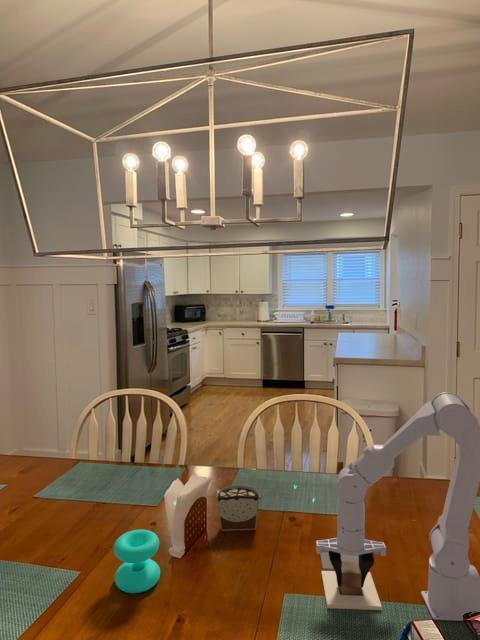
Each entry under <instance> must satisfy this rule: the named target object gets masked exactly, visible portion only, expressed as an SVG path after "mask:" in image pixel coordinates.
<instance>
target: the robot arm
mask: <svg viewBox="0 0 480 640" xmlns="http://www.w3.org/2000/svg"><path fill="white" fill-rule="evenodd" d="M440 430H441V431H442V432H443V433H444V434H445V435H447V436H448V437H451V438H452V439H453V440H454V441H455V442H456V444H457V445H458V446H457V451H456V454H455V459H454V463H453V467H452V472H451V476H450V480H449V484H448V485H449V486H448V489H447V493H446V498H445V502H444V506H443V510H442V514H441V515H439V517H438V519H437V522H436V524H435V525H434V526H433V528H432V529H431V530H430V531H429V532H430V533H429V542H430V544H431V548H432V551H433V552H432V554H430V557H429V558H428V578H427V579H428V581H427V582H428V583H427V586H428V587H427V590H422V591H421V592H420V595H421V597H422V599H423V601H424V603H425V605H426V607H427V609H428V611H429V613H430V616H431V618H432V619H433V620H435V621H455V622H457V621H458V622H464V621H463V615H464V614H466V613H469V612H474V611H477V612H480V574H479V572H478V570H477V568H476V567H475V566H474V565H472V564H471V563H470V559H469V556H468V555H469V554H468V552H469V547H470V544H469V543H470V540H469V538H470V537H469V528H470V523H471V519H472V514H473V511H474V506H475V502H476V498H477V493H478V489H479V486H480V423H479V420H478V418H477V417H476V416H475V414H474V413H473V412H472V410H471V409H470V407H469V405H467V404H466V403H465V401H464V400H463V399H462V398H461V397H460V396H459V395H457V394H456V393H453V392H451V391H447V392H446V391H444V392H439V393H438V394H436V395H435V396H434V397H433V399H432V400H431V401H428V402H426V403H424V404H423V406H422V407H420V408H419V409H418V410H417V411H416V412H415V413H414V414H413V415H412V416H411V417H410V418H409V419H408V421H406V422H405V423H404V424H403V425H402V426H401V427H400V428H399V429H398V430H397V431H396V432H395V433H394V434H393V435H392V436H391V437H389V438H388V440H386V441H385V443H384V444H373V445H371V447H370V446H368V445H367V446H366V447H364V449H363V453H362V454H361V455H360V456H359V457H358V458H357V459H355V461H353V462H349V463H348V464H347V466H345V467H343V468H342V469H341V470H340V472H339V473H338V476H337V483H336V490H337V500H338V501H337V503H336V505H337V507H336V509H337V512H336V515H337V517H336V523H337V524H336V525H337V527H336V530H337V531H336V537H334V538H328V539H321V540H320V539H319V540H316V541H315V551H316V554H317V555H320V554H322V552H328V553H329V558H330V561H331V564H332V566H333V568H334V570H333V571H335V573H336V577H337V584H338V588H340V587H341V583H342V581H341V568H342V560H341V555H340V553H342V554H346V555H351V556H356V555H359V567H360V571H361V587H363V585H364V581H365V578H366V576H367V574H368V572H370V570H371V568H372V567H373V566H374V564H375V558H374V554H375V555H380V556H381V557H382V556H383V557H385V556H386V555H387V547H386V544H385V543H384V542H382V541H375V540H370V539H366V538H365V534H366V533H365V531H366V530H365V527H366V524H365V523H366V520H365V518H366V517H365V516H366V504H365V503H364V502H365V501H364V500H365V498H366V495H367V489H368V488H370V487H371V486H373V485H374V484H376V483H377V482H378V481H379V480H380V479H381V478H382V477H383V476H385V475H386V474H387V473H388V472H390V471H391V470H392V469H393V468H395V467H394V466H395V458H396V457H398V456H399V455H400V454H402V453H403V452H404V451H405V450H407V449H408V448H409V447H410V446H412V445H413V444H415V443H416V442H418V441H419V440H420V439H421V438H422V437H424V436H434V437H441V436H442V435H441V433H440Z"/></svg>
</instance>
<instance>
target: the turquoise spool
mask: <svg viewBox="0 0 480 640" xmlns="http://www.w3.org/2000/svg"><path fill="white" fill-rule="evenodd" d="M159 548H160V539H159V537H158V535H157V534H156V533H155V532H153V531H151V530H147V529H133V530H130V531H127V532H125V533H123V534H121V535H120V536H119V537H118V538H117V539H116V540H115V542H114V545H113V553H114V555H115V557H116V558H117V559H118V560H120V561H122V562H123V563H121V565H120V566H119V567H118V568H117V570H116V572H115V574H114V583H115V585H116V587H117V588H118V589H119V590H121V591H123V592H124V593H128V594H140V593H143V592H146V591H148V590H150V589H152V588H153V587H154V586H155V585H157V583H158V582H159V580H160V577H161V568H160V566H159V564H158V563H157V562H156V561H155V560H154V559H151V558H152V557H154V556H155V554H156V553H157V552H158V550H159Z"/></svg>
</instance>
